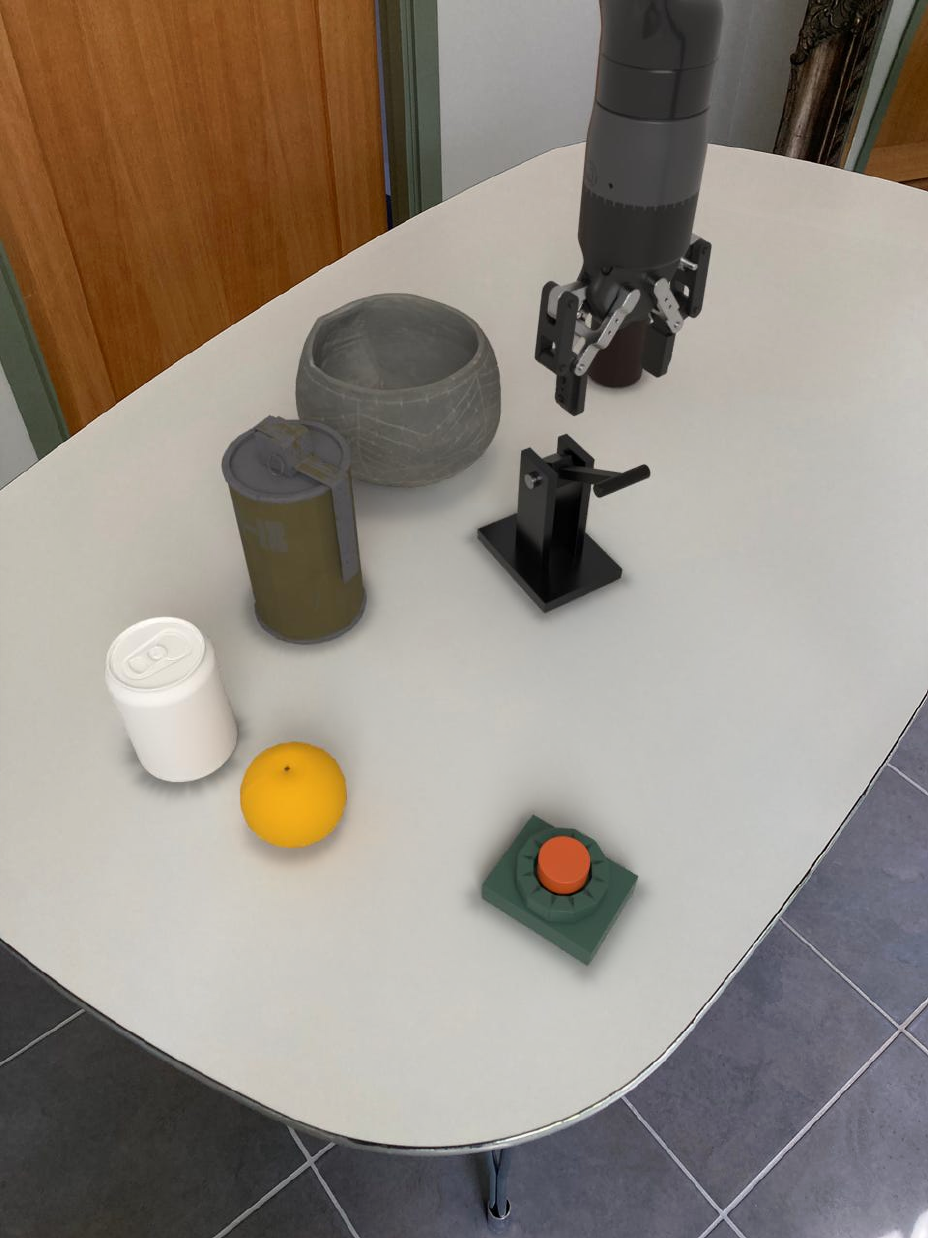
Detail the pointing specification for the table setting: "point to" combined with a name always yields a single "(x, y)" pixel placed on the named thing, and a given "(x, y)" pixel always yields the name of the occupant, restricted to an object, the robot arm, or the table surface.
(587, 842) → the button box
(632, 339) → the bottle
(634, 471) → the lever
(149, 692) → the beverage can
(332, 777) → the orange
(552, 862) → the button
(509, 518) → the bracket
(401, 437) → the bowl
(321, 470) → the canister
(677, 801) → the table surface
